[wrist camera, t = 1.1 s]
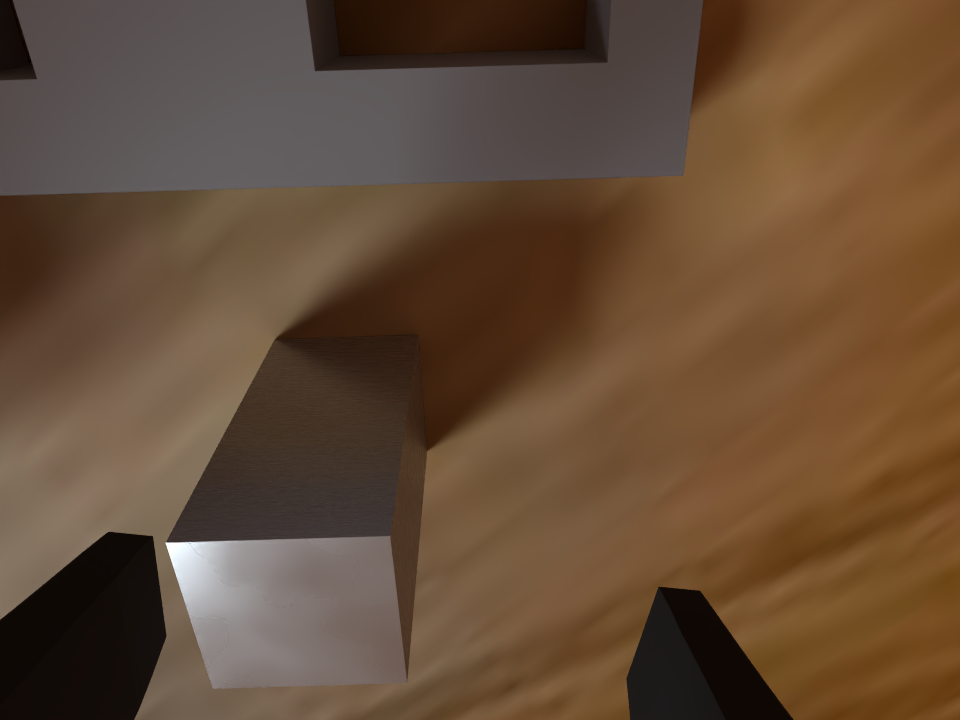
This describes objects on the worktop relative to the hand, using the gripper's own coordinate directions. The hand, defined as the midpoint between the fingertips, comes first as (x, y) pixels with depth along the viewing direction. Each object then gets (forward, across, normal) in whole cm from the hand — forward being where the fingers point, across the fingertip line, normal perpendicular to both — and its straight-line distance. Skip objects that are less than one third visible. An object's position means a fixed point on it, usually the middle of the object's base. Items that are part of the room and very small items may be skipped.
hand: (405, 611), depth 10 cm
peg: (+10, +2, +3) cm, 11 cm away
